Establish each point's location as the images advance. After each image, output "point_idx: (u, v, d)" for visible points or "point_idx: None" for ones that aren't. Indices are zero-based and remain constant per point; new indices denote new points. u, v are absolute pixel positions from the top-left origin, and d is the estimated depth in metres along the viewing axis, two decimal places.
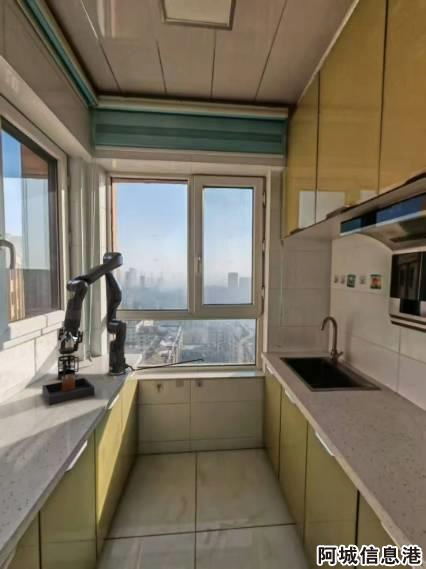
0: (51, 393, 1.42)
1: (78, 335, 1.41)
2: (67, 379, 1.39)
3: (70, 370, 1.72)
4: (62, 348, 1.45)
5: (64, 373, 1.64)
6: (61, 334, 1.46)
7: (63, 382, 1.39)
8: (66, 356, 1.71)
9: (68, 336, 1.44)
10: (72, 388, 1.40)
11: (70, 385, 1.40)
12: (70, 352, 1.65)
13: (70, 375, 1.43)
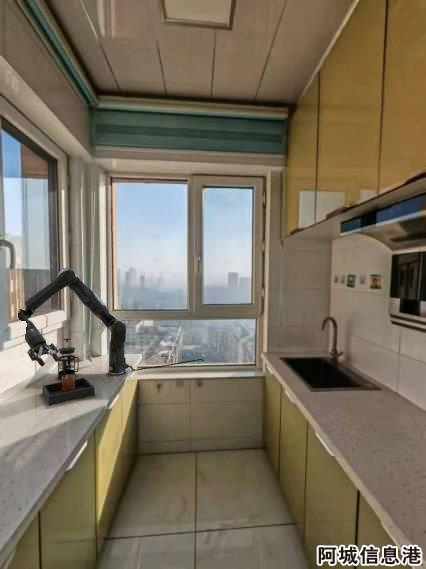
0: (51, 393, 1.42)
1: None
2: (67, 379, 1.39)
3: (70, 370, 1.72)
4: (56, 360, 1.49)
5: (64, 373, 1.64)
6: None
7: (63, 382, 1.39)
8: (66, 356, 1.71)
9: None
10: (72, 388, 1.40)
11: (70, 385, 1.40)
12: (70, 352, 1.65)
13: (70, 375, 1.43)
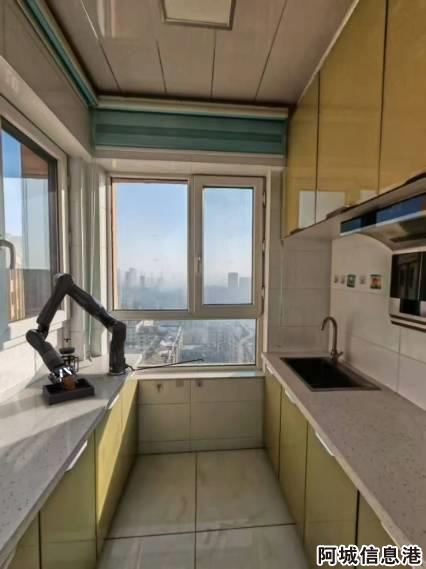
0: (51, 393, 1.42)
1: None
2: (67, 379, 1.39)
3: None
4: None
5: None
6: (70, 372, 1.48)
7: None
8: (66, 356, 1.71)
9: None
10: (72, 388, 1.40)
11: (70, 385, 1.40)
12: (70, 352, 1.65)
13: (70, 375, 1.43)
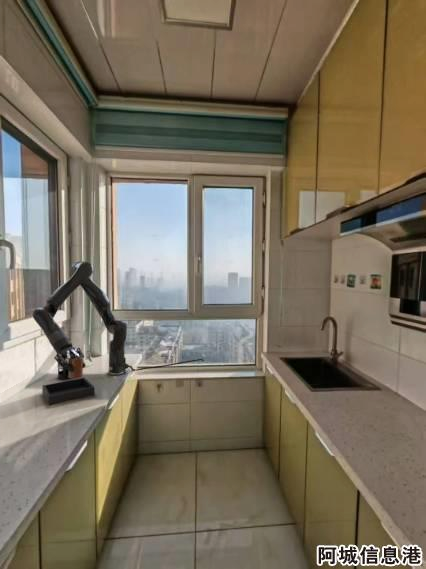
0: (51, 393, 1.42)
1: None
2: (75, 360, 1.32)
3: None
4: None
5: (64, 373, 1.64)
6: None
7: None
8: None
9: None
10: (80, 370, 1.33)
11: (77, 366, 1.32)
12: None
13: (78, 356, 1.36)
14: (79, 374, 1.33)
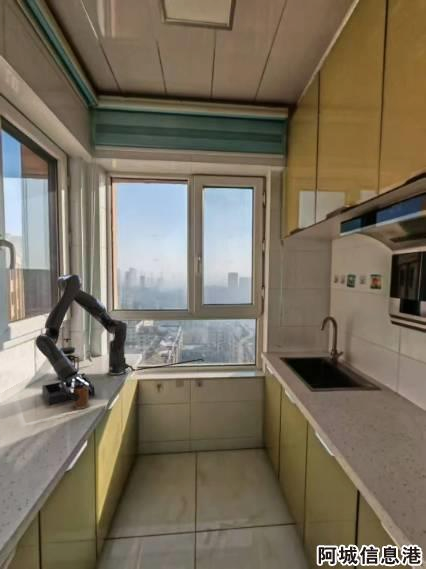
0: (51, 393, 1.42)
1: None
2: (80, 391, 1.28)
3: None
4: None
5: None
6: (83, 380, 1.38)
7: (75, 393, 1.28)
8: (66, 356, 1.71)
9: None
10: (85, 401, 1.29)
11: (83, 397, 1.28)
12: (70, 352, 1.65)
13: (83, 386, 1.31)
14: (85, 405, 1.29)
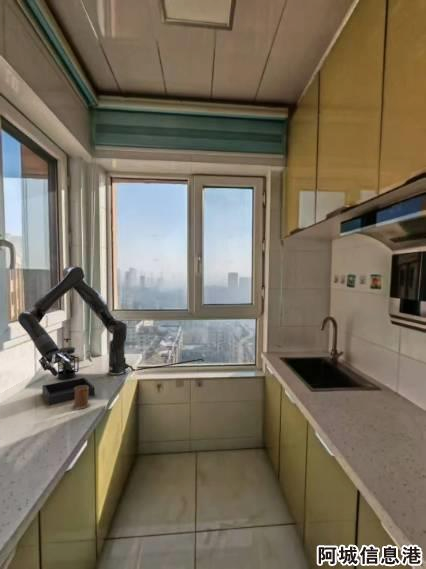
0: (51, 393, 1.42)
1: None
2: (80, 391, 1.28)
3: (70, 370, 1.72)
4: (69, 369, 1.38)
5: (64, 373, 1.64)
6: (64, 357, 1.41)
7: (75, 393, 1.28)
8: None
9: None
10: (85, 401, 1.29)
11: (83, 397, 1.28)
12: (70, 352, 1.65)
13: (83, 386, 1.31)
14: (85, 405, 1.29)
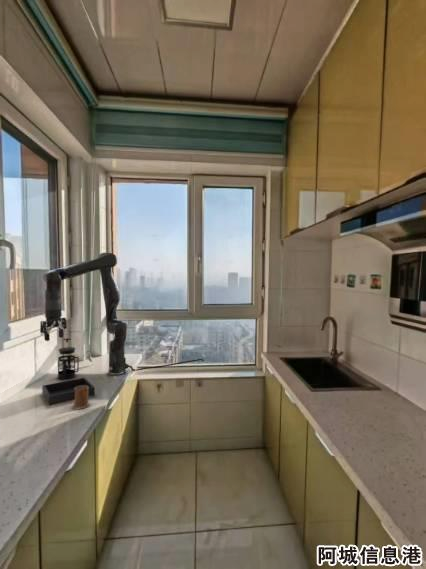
0: (51, 393, 1.42)
1: None
2: (80, 391, 1.28)
3: (70, 370, 1.72)
4: (59, 336, 1.53)
5: (64, 373, 1.64)
6: (62, 323, 1.55)
7: (75, 393, 1.28)
8: (66, 356, 1.71)
9: None
10: (85, 401, 1.29)
11: (83, 397, 1.28)
12: (70, 352, 1.65)
13: (83, 386, 1.31)
14: (85, 405, 1.29)
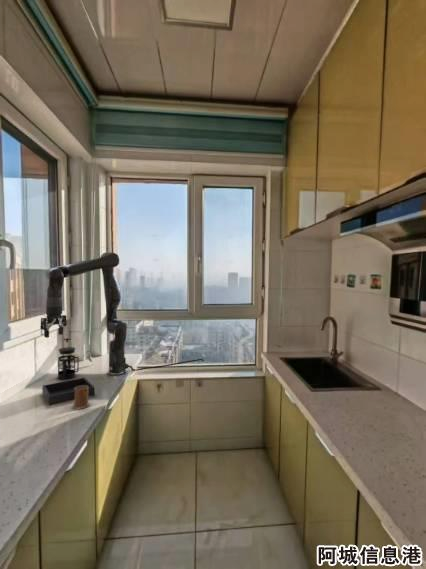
0: (51, 393, 1.42)
1: None
2: (80, 391, 1.28)
3: (70, 370, 1.72)
4: (59, 333, 1.54)
5: (64, 373, 1.64)
6: (62, 320, 1.56)
7: (75, 393, 1.28)
8: (66, 356, 1.71)
9: None
10: (85, 401, 1.29)
11: (83, 397, 1.28)
12: (70, 352, 1.65)
13: (83, 386, 1.31)
14: (85, 405, 1.29)
